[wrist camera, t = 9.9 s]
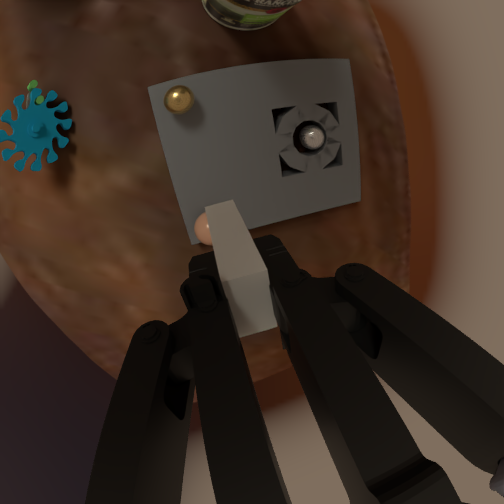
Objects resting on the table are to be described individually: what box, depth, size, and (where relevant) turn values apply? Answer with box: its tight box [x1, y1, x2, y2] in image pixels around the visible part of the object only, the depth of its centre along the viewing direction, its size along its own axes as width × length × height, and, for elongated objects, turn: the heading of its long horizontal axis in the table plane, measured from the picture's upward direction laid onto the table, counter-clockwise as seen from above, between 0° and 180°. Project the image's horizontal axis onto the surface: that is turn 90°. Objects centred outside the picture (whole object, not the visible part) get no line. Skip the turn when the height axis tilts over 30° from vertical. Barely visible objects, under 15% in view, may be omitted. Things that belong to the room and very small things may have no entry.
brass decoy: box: [163, 85, 195, 114], centre depth 24 cm, size 3×3×3 cm
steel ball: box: [299, 125, 325, 150], centre depth 32 cm, size 3×3×3 cm
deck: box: [148, 59, 361, 245], centre depth 32 cm, size 24×20×2 cm
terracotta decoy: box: [194, 212, 213, 245], centre depth 32 cm, size 4×4×4 cm
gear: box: [0, 80, 72, 172], centre depth 22 cm, size 11×6×10 cm
